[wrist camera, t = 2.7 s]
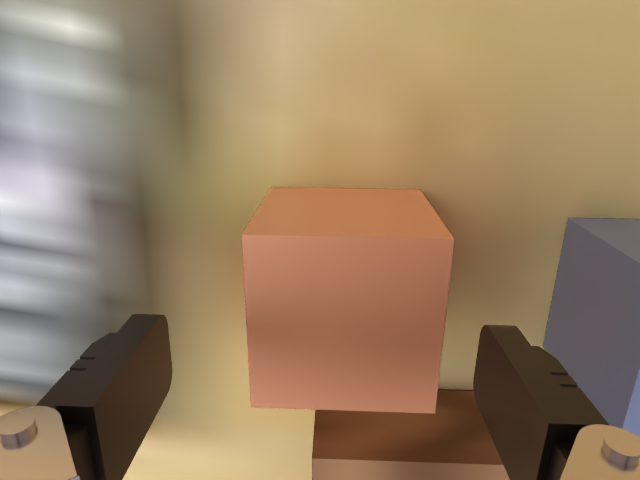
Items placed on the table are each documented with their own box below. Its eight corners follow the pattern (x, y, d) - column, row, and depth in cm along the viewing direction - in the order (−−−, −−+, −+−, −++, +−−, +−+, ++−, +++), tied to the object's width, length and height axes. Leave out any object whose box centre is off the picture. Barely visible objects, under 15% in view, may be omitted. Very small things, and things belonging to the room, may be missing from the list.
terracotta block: (419, 188, 17) (454, 238, 12) (409, 320, 19) (434, 413, 14) (271, 186, 17) (241, 234, 12) (274, 317, 19) (250, 407, 14)
